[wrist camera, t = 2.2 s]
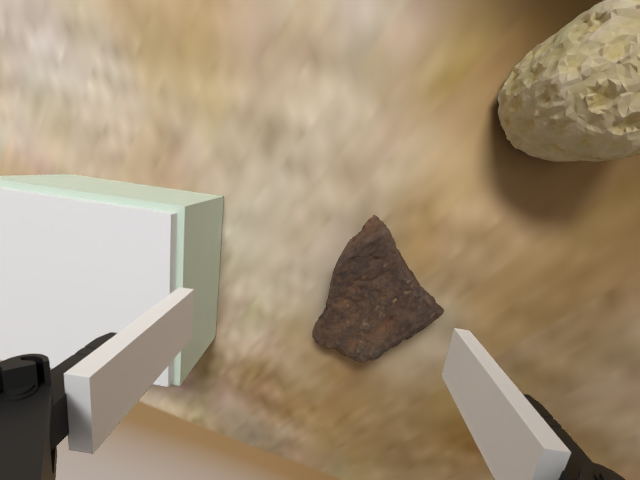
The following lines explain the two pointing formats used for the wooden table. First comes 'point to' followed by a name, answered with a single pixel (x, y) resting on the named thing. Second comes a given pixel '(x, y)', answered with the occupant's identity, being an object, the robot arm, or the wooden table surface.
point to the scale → (102, 262)
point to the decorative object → (579, 89)
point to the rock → (373, 298)
